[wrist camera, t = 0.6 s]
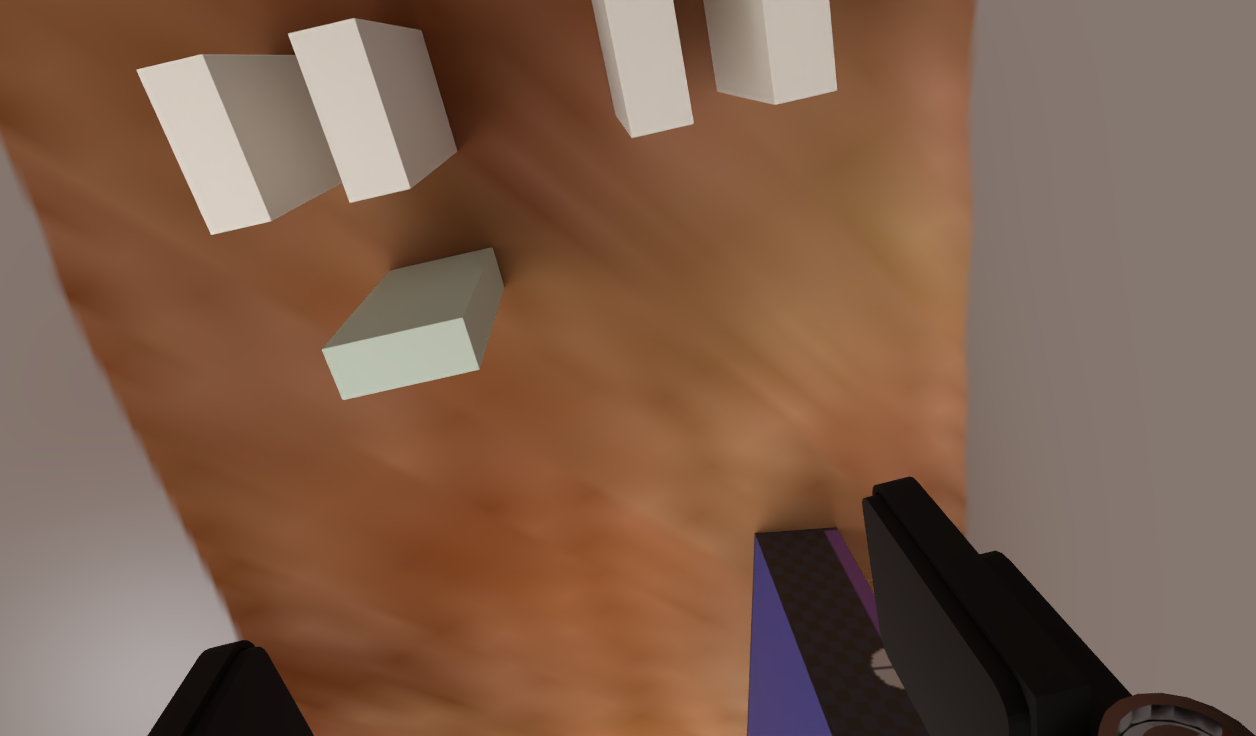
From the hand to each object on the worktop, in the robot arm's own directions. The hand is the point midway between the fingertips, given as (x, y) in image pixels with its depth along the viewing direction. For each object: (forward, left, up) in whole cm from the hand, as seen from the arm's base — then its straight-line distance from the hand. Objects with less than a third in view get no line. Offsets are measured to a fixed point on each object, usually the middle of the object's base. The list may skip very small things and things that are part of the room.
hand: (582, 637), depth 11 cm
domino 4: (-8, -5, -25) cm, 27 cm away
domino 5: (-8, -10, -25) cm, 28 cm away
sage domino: (0, -6, -25) cm, 26 cm away
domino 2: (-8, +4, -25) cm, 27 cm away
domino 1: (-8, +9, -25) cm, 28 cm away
